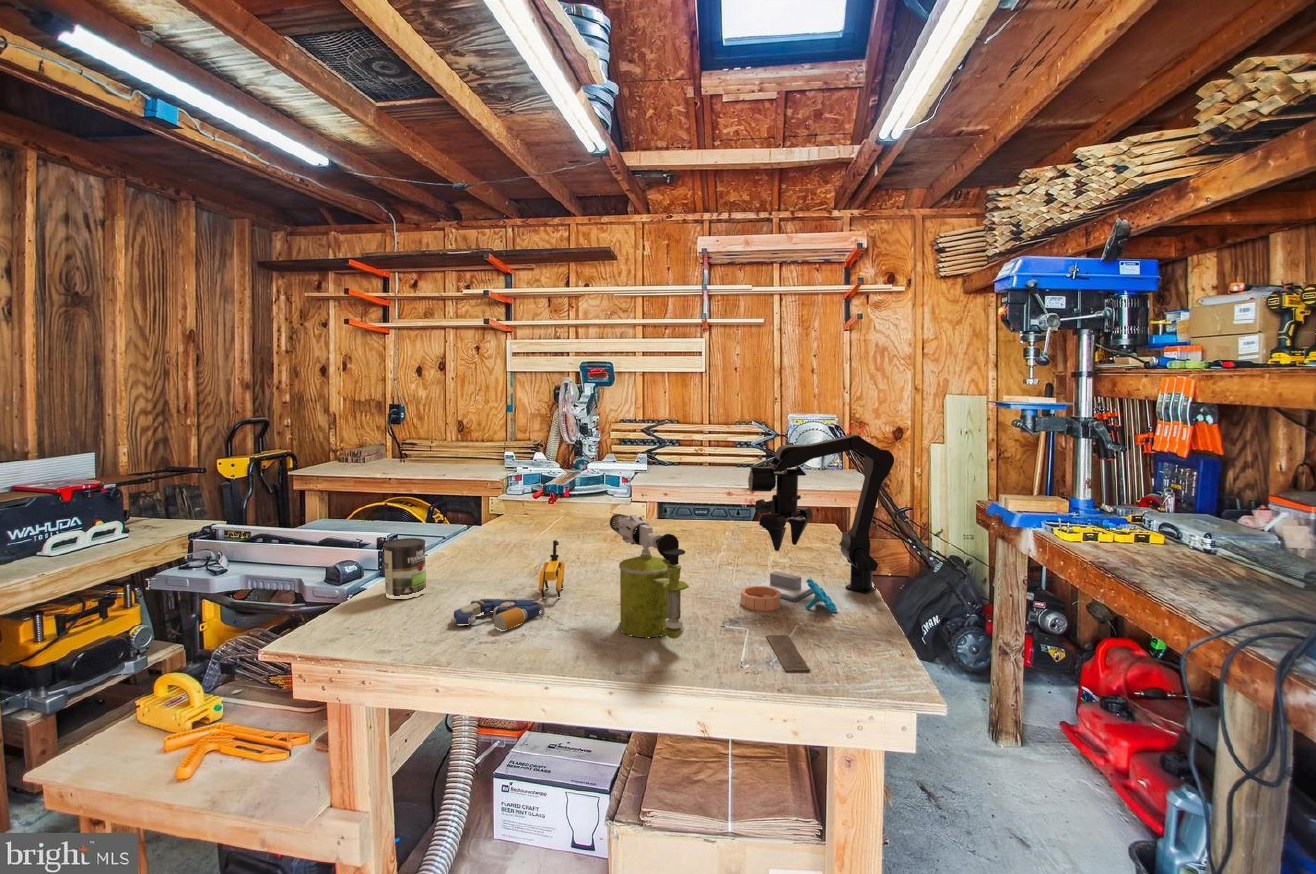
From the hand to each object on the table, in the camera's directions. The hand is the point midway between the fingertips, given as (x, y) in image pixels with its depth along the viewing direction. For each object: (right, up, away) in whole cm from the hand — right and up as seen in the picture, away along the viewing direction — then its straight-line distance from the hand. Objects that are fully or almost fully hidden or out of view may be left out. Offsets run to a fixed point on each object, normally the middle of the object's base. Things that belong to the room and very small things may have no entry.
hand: (785, 547), depth 160 cm
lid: (0, -11, +1) cm, 11 cm away
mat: (0, -12, +1) cm, 12 cm away
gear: (+6, -13, -14) cm, 20 cm away
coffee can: (-103, -12, -3) cm, 104 cm away
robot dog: (-63, -12, -2) cm, 65 cm away
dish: (-9, -13, -10) cm, 18 cm away
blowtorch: (-38, -14, -25) cm, 48 cm away
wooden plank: (-8, -15, -39) cm, 43 cm away
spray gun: (-73, -14, -21) cm, 77 cm away
